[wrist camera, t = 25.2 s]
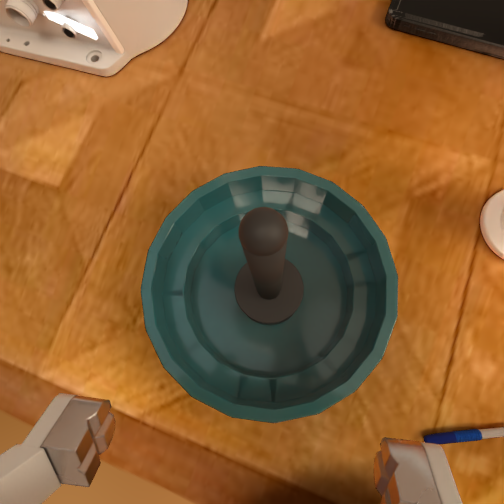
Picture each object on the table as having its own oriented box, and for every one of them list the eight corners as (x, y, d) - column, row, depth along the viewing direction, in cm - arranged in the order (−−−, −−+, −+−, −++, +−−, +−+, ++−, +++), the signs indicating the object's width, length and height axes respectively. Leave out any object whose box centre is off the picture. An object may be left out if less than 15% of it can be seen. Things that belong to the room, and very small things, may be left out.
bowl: (149, 389, 29) (118, 401, 23) (184, 190, 33) (165, 158, 27) (369, 419, 27) (395, 440, 21) (376, 206, 31) (400, 176, 26)
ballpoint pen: (423, 431, 26) (419, 431, 27) (427, 445, 26) (422, 444, 27) (569, 420, 26) (559, 421, 27) (575, 434, 25) (565, 434, 26)
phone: (409, -42, 36) (561, -5, 34) (405, -31, 38) (552, 6, 35) (385, 17, 35) (543, 59, 33) (382, 26, 36) (535, 68, 34)
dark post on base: (234, 321, 29) (174, 292, 12) (242, 259, 30) (198, 149, 13) (298, 328, 29) (336, 309, 11) (303, 265, 30) (344, 159, 12)
